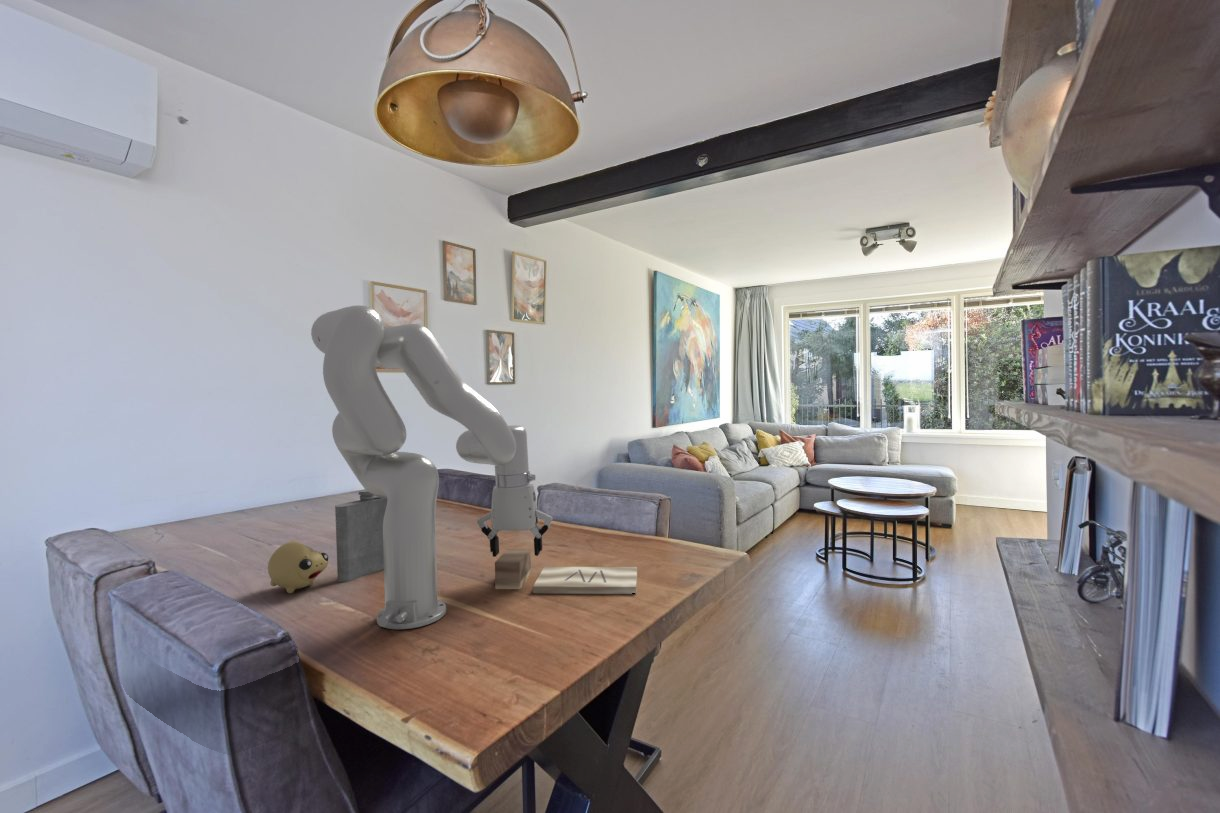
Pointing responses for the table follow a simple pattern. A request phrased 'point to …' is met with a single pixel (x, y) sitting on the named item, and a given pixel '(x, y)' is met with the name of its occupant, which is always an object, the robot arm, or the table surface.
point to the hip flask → (360, 536)
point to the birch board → (587, 580)
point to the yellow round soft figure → (295, 566)
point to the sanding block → (512, 569)
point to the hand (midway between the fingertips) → (516, 554)
